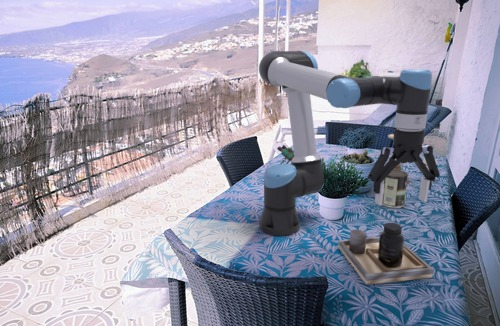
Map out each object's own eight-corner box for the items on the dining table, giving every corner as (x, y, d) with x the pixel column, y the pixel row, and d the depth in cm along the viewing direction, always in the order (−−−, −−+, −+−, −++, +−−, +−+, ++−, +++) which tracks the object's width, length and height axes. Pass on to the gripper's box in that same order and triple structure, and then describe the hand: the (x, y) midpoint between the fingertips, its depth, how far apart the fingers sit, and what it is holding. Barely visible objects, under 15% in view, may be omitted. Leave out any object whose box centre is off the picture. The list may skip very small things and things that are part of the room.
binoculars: (283, 180, 188) (296, 159, 180) (265, 164, 192) (277, 144, 184) (294, 173, 199) (307, 153, 191) (276, 158, 203) (288, 139, 196)
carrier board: (366, 284, 93) (368, 261, 91) (338, 247, 112) (339, 227, 110) (432, 277, 95) (435, 255, 93) (394, 242, 114) (396, 223, 112)
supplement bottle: (381, 253, 106) (385, 218, 102) (404, 260, 102) (408, 224, 98) (374, 263, 101) (377, 227, 97) (397, 271, 96) (402, 233, 93)
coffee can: (401, 199, 150) (404, 169, 146) (406, 209, 140) (410, 177, 136) (377, 198, 152) (380, 168, 148) (381, 207, 142) (384, 176, 138)
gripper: (372, 133, 85) (365, 210, 91) (462, 129, 88) (449, 204, 94) (359, 128, 92) (353, 199, 98) (442, 124, 95) (432, 194, 101)
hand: (400, 202), depth 96 cm, fingers open, 13 cm apart
